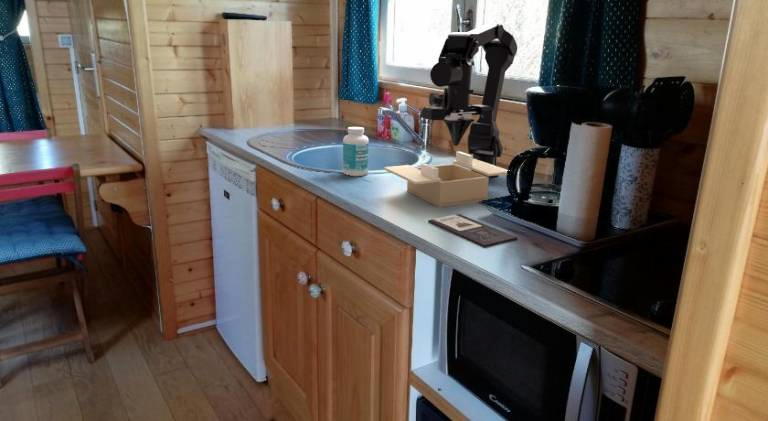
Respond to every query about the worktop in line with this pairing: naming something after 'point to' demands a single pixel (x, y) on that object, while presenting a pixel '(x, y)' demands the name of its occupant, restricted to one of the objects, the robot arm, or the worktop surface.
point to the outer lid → (416, 173)
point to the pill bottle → (355, 152)
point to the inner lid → (478, 165)
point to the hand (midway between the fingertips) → (455, 145)
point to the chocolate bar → (472, 230)
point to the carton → (452, 186)
